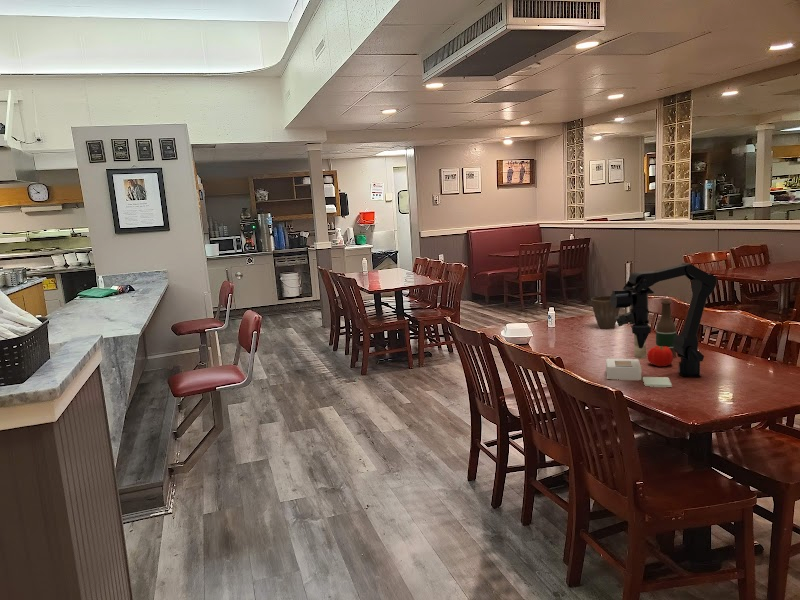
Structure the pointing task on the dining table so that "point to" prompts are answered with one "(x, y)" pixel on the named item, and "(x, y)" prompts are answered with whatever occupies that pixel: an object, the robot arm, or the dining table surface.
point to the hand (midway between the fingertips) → (640, 346)
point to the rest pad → (657, 381)
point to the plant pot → (604, 312)
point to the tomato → (660, 356)
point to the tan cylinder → (639, 349)
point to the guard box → (623, 369)
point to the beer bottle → (666, 328)
